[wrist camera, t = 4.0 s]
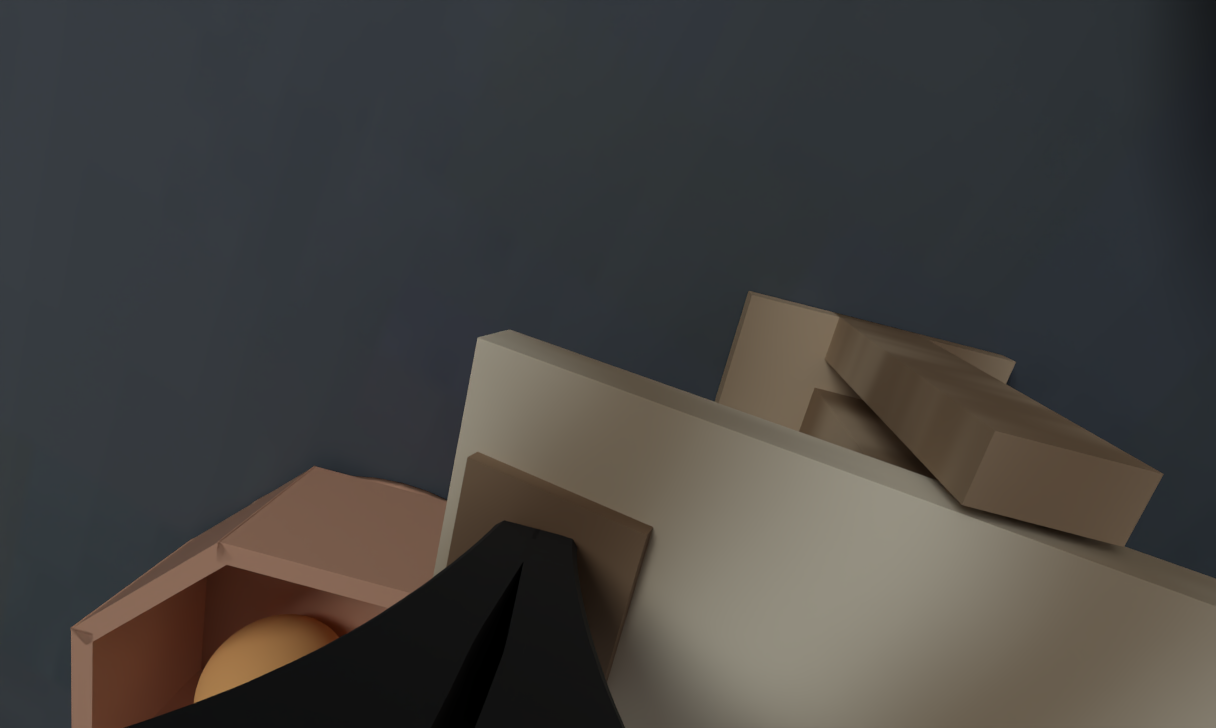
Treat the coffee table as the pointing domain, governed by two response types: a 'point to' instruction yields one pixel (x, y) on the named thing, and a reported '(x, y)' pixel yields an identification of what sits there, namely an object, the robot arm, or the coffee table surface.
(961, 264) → the coffee table surface
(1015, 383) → the coffee table surface
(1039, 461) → the lever stand
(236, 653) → the ball
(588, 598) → the lever
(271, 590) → the octagonal bowl
